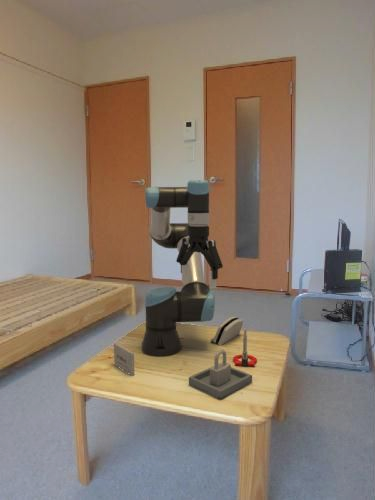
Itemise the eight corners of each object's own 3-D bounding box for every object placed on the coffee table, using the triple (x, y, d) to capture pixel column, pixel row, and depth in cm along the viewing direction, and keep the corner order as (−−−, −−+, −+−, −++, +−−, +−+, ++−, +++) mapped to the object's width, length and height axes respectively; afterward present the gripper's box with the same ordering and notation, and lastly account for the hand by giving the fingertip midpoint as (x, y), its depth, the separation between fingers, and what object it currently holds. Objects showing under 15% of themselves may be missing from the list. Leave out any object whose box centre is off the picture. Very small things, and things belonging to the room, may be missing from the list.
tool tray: (188, 384, 123) (188, 377, 122) (220, 370, 133) (220, 363, 133) (220, 399, 114) (220, 391, 113) (252, 382, 124) (252, 375, 124)
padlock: (222, 375, 127) (222, 345, 126) (232, 379, 125) (232, 348, 123) (208, 383, 122) (208, 352, 121) (218, 387, 119) (218, 355, 118)
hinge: (229, 331, 172) (236, 311, 169) (238, 336, 169) (246, 316, 166) (209, 343, 158) (216, 321, 155) (219, 349, 156) (226, 327, 153)
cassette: (113, 364, 138) (112, 343, 137) (117, 363, 139) (117, 342, 138) (131, 376, 129) (130, 354, 128) (135, 375, 130) (135, 352, 129)
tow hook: (233, 356, 145) (232, 366, 136) (233, 322, 144) (232, 329, 135) (256, 358, 144) (257, 367, 135) (257, 323, 143) (257, 330, 134)
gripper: (166, 224, 144) (167, 281, 146) (218, 227, 126) (218, 292, 129) (181, 223, 149) (181, 278, 152) (233, 226, 131) (232, 289, 134)
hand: (198, 285), depth 140 cm, fingers open, 13 cm apart
